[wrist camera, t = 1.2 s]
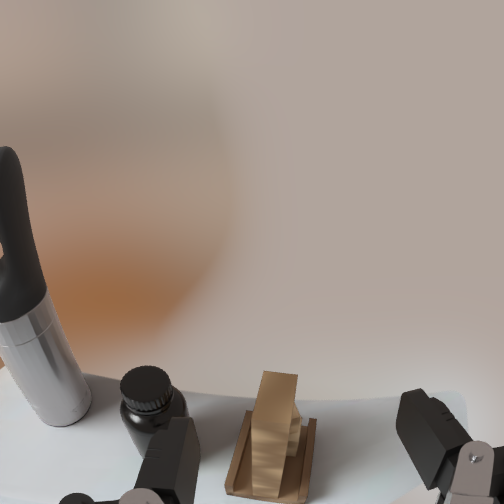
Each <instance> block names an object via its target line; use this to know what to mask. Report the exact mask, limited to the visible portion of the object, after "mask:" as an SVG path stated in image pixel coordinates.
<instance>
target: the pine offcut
mask: <svg viewBox="0 0 504 504" xmlns="http://www.w3.org/2000/svg"><path fill="white" fill-rule="evenodd" d="M301 423H302V417H301V418H300V423H299V428H298V433H294V434H289V439H288V446H287V452H286V456H293V457H296V452H297V448H298V443H299V437H300V430H301Z"/></svg>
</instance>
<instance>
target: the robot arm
mask: <svg viewBox="0 0 504 504" xmlns="http://www.w3.org/2000/svg"><path fill="white" fill-rule="evenodd" d="M0 242H1V244H2V248H3V253H4V255H3V257H2V258H1V259H0V356H1V358H2V360H3V362H4V363H5V365H6V367H7V369H8V370H9V372H10V374H11V375H12V377H13V379H14V380H15V382H16V384H17V385H18V387H19V388H20V390H21V391H22V393H23V395H24V396H25V398H26V399H27V401H28V402H29V404H30V405H31V407H32V408H33V410H34V411H35V412H36V414H37V415H38V417H39V418H40V419H41V420H42V421H43V422H45V423H46V424H48V425H52V426H67V425H70V424H72V423H74V422H76V421H78V420H79V419H80V418H82V417H83V416H84V415H85V413H86V412H87V411H88V409H89V407H90V404H91V392H90V389H89V387H88V385H87V383H86V381H85V379H84V377H83V375H82V373H81V370H80V368H79V366H78V364H77V362H76V360H75V357H74V355H73V353H72V351H71V348H70V346H69V343H68V341H67V339H66V336H65V334H64V331H63V329H62V326H61V324H60V322H59V319H58V316H57V313H56V311H55V308H54V305H53V303H52V300H51V297H50V294H49V291H48V288H47V286H46V282H45V279H44V276H43V273H42V270H41V266H40V262H39V258H38V254H37V250H36V246H35V243H34V239H33V234H32V229H31V224H30V220H29V213H28V206H27V200H26V192H25V185H24V179H23V174H22V169H21V165H20V162H19V159H18V157H17V155H16V153H15V151H14V150H13V149H12V148H10V147H7V146H4V147H0ZM396 430H397V434H398V436H399V438H400V439H401V441H402V443H403V445H404V447H405V449H406V450H407V452H408V454H409V456H410V458H411V460H412V462H413V463H414V465H415V467H416V469H417V471H418V473H419V475H420V477H421V479H422V480H423V482H424V484H425V486H426V488H427V490H431V489H434V488H436V487H438V488H439V490H440V492H439V495H438V497H437V500H436V503H435V504H504V446H502V447H497V448H492V447H491V446H490V445H489V444H487V443H485V442H482V441H473V440H472V438H471V437H470V436H469V435H468V433H467V432H466V431H465V429H464V428H463V427H462V426H461V424H460V423H459V422H458V420H457V419H455V417H454V415H453V414H452V413H451V412H450V410H449V409H448V408H447V407H446V405H445V404H444V403H443V402H441V401H439V400H438V399H436V398H434V397H432V398H429V397H428V396H427V394H426V393H425V392H424V391H423V390H422V389H421V388H420V389H416V390H412V391H408V392H404V393H403V394H402V396H401V400H400V405H399V410H398V414H397V419H396ZM147 449H148V450H147V451H146V454H145V458H144V460H143V463H142V465H141V468H140V471H139V474H138V478H137V481H136V484H135V486H134V489H132V490H130V491H128V492H126V493H125V494H124V495H123V496H122V497H121V498H120V499H119V500H114V501H102V502H94V501H93V499H92V498H91V497H89V496H88V495H86V494H83V493H72V494H69V495H67V496H65V497H64V498H63V499H62V500H61V501H60V503H59V504H194V497H195V490H196V483H197V477H198V470H199V463H200V445H199V441H198V437H197V434H196V430H195V426H194V422H193V419H192V418H191V417H172V418H171V420H170V423H169V426H168V430H158V431H157V432H156V433H155V434H154V435H153V436H152V437H151V439H150V442H149V445H148V448H147Z"/></svg>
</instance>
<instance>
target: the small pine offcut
mask: <svg viewBox="0 0 504 504" xmlns="http://www.w3.org/2000/svg"><path fill="white" fill-rule="evenodd" d="M300 418H301V416H300V414H299V412H298V410H297V407H296V405H295V403H294V406H293V413H292V420H291V427H290V433H289V434H294V433H298V428H299V423H300Z"/></svg>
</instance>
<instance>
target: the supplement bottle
mask: <svg viewBox="0 0 504 504" xmlns="http://www.w3.org/2000/svg"><path fill="white" fill-rule="evenodd" d="M120 390H121V393H122V396H123V399H122V401H121V405H120V414H121V417H122V420H123V422H124V424H125V426H126V428H127V430H128V432H129V434H130V436H131V438H132V440H133V442H134V444H135V446H136V448H137V449H138V451H139V453H140V455H141V456H142V458H143V459H144V458H145V454H146V451H147V450H148V449H147V448H148V445H149V442H150V439H151V437H152V436H153V435H154V434H155V433H156V432H157V431H158V430H168V426H169V423H170V420H171V418H172V417H190V416H189V412H188V408H187V404H186V401H185V398H184V396H183V395H182V393H181V392H180V391H179V390H178V389H177V388H175V387H174V386H172V385H171V382H170V379H169V376H168V375H167V374H166V372H165V371H163V370H162V369H160V368H158V367H155V366H140V367H136V368H134V369H132V370H131V371H128V373H126V374H125V376H124V377H123V379H122V380H121V383H120Z"/></svg>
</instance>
